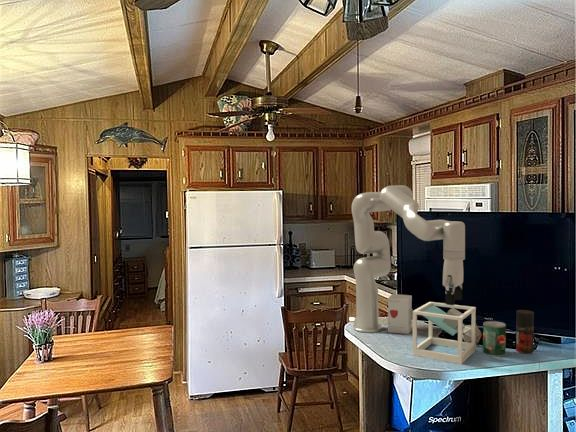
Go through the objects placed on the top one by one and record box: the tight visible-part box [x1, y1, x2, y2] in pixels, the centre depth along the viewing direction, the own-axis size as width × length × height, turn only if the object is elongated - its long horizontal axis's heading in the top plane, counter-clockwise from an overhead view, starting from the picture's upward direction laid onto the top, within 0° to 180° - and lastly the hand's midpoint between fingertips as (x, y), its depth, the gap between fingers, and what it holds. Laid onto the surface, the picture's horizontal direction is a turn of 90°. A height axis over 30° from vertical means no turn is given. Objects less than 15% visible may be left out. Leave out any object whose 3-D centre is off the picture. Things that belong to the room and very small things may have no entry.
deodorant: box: [515, 309, 535, 355], centre depth 191 cm, size 6×6×15 cm
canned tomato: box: [482, 320, 507, 357], centre depth 190 cm, size 8×8×11 cm
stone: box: [442, 308, 463, 329], centre depth 189 cm, size 5×5×5 cm
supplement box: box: [387, 293, 413, 335], centre depth 221 cm, size 9×9×15 cm
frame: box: [412, 301, 477, 365], centre depth 191 cm, size 18×18×16 cm
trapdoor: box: [421, 304, 466, 336], centre depth 191 cm, size 14×14×1 cm
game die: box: [462, 323, 483, 346], centre depth 201 cm, size 9×8×10 cm
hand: (453, 302), depth 188 cm, fingers open, 8 cm apart
